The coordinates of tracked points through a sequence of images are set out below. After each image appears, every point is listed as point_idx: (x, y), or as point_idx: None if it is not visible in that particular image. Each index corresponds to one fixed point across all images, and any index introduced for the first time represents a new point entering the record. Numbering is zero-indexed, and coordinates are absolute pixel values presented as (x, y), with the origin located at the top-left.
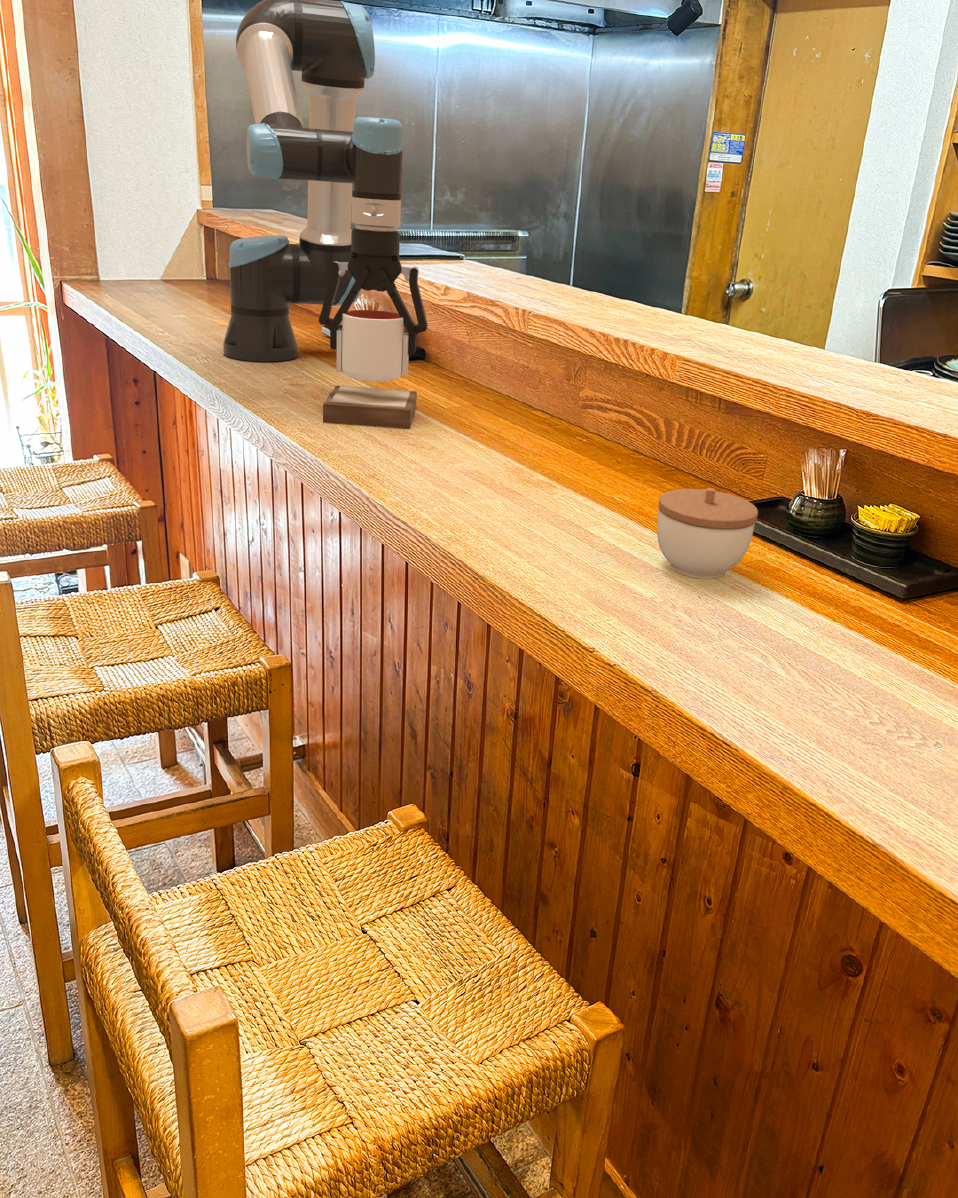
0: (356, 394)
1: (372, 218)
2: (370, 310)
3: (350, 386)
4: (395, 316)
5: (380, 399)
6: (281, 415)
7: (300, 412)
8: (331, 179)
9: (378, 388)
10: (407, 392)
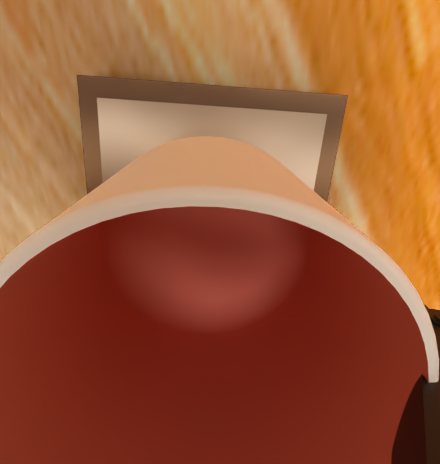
0: None
1: None
2: (148, 206)
3: (129, 101)
4: (376, 269)
5: None
6: (5, 245)
7: (36, 209)
8: None
9: (222, 107)
10: (314, 143)
